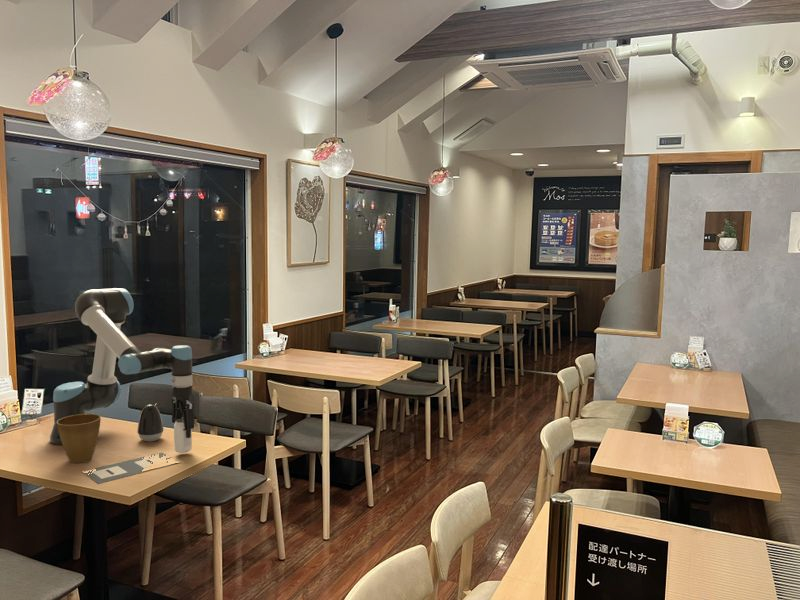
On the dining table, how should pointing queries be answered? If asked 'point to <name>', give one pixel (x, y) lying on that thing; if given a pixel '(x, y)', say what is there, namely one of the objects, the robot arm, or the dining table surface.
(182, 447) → the can
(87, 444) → the plant pot
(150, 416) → the pump dispenser
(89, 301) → the robot arm
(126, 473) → the label panel
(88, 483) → the dining table surface
